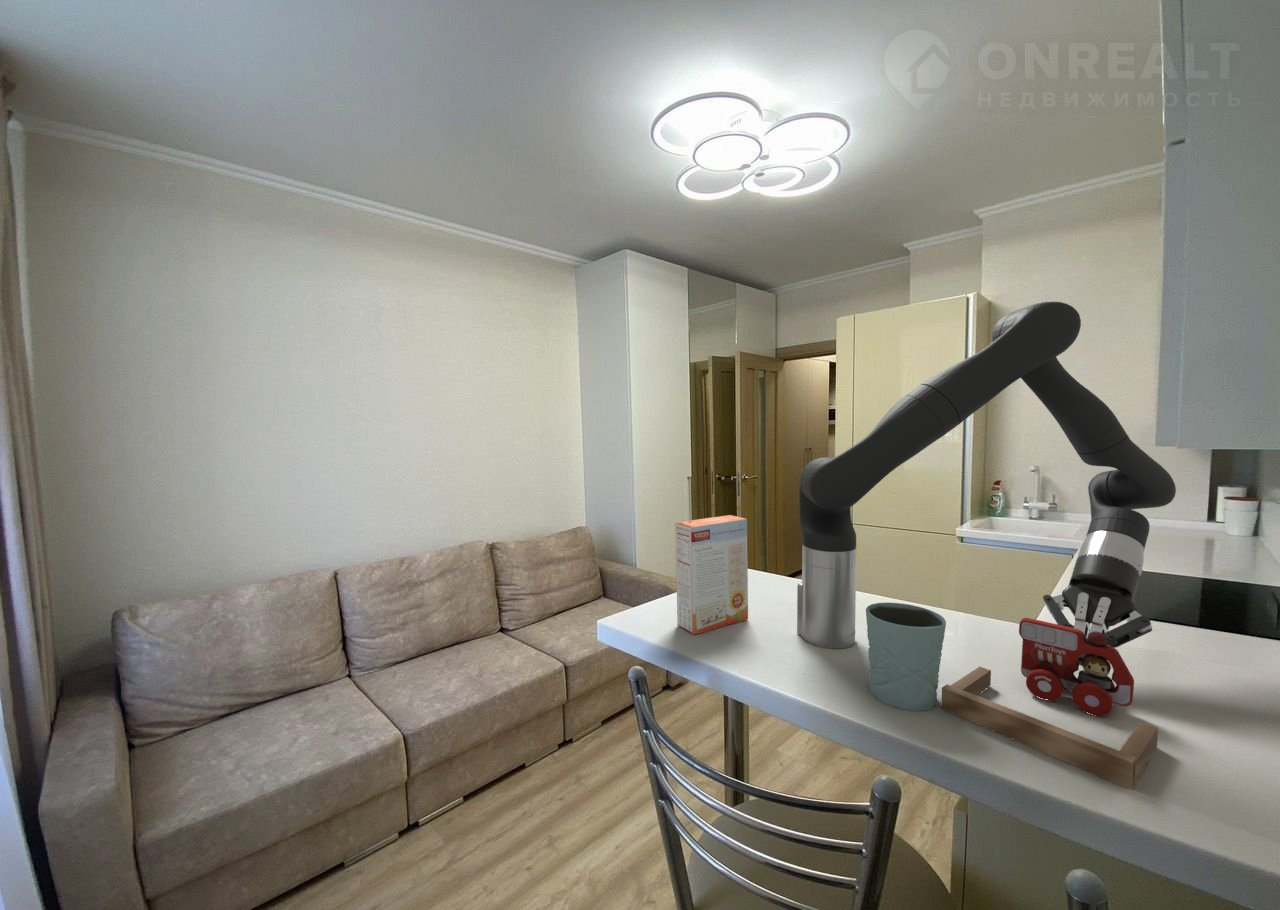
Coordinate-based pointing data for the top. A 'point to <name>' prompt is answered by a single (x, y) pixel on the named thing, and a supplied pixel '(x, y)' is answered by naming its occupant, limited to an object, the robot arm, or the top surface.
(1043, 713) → the top surface
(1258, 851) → the top surface
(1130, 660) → the top surface
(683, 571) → the cracker box
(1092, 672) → the toy fire truck
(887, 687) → the grey-green textured vase
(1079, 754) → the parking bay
